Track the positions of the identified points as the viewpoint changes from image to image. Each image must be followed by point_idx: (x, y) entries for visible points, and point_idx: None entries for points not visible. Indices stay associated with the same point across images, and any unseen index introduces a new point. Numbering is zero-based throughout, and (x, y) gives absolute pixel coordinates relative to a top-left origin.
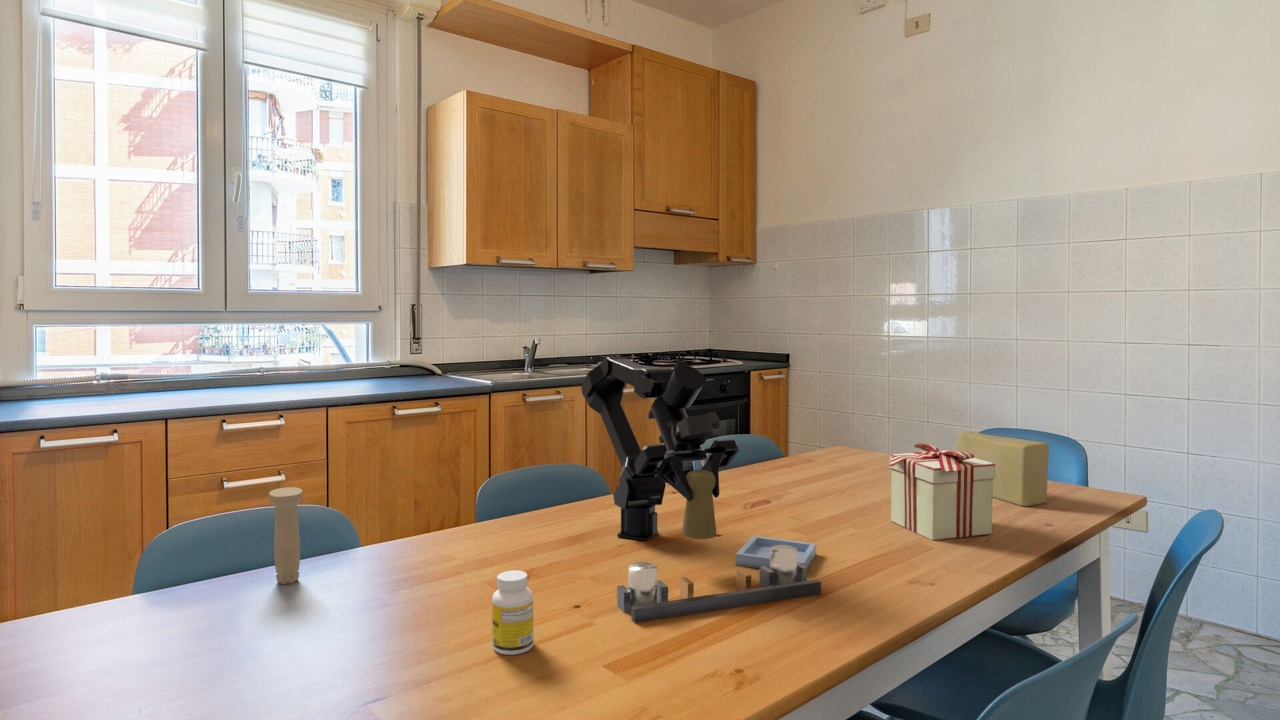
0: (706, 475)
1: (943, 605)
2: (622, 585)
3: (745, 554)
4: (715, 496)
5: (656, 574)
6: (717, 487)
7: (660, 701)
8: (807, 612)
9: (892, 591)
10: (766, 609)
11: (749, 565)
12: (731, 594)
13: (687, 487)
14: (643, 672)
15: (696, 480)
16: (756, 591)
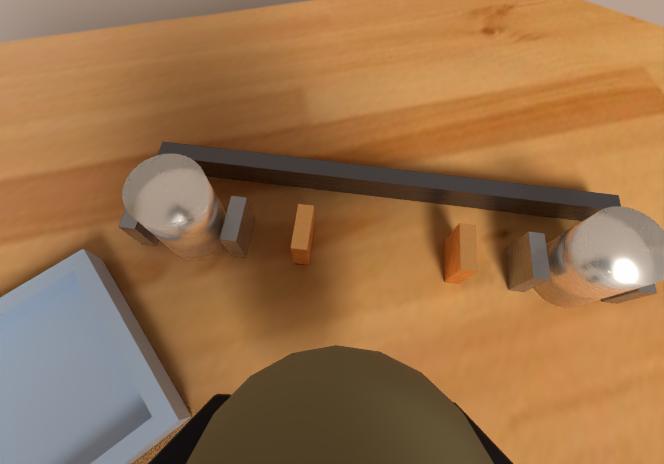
0: (351, 375)
1: (40, 39)
2: (642, 289)
3: (157, 398)
4: None
5: (582, 222)
6: (195, 432)
7: (611, 20)
8: (268, 111)
9: (42, 109)
10: (326, 151)
11: (169, 379)
12: (388, 170)
13: (493, 462)
14: (617, 74)
15: (452, 403)
16: (328, 161)
